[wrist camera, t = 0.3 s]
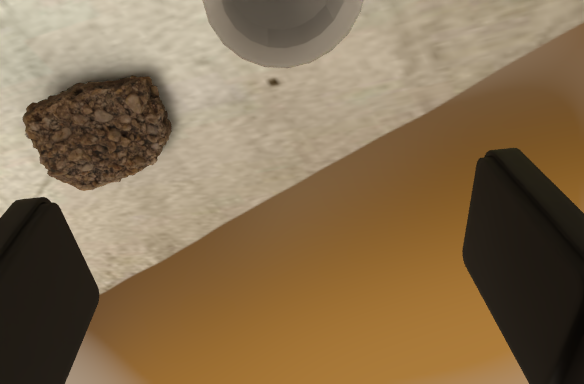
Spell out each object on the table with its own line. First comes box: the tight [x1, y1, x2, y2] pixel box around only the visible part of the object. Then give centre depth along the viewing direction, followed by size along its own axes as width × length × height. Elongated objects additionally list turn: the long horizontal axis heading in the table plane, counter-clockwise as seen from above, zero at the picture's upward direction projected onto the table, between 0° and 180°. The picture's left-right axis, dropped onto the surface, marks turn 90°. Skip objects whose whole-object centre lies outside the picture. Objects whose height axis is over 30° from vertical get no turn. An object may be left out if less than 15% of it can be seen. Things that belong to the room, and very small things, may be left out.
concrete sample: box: [23, 76, 171, 191], centre depth 40 cm, size 12×10×5 cm
